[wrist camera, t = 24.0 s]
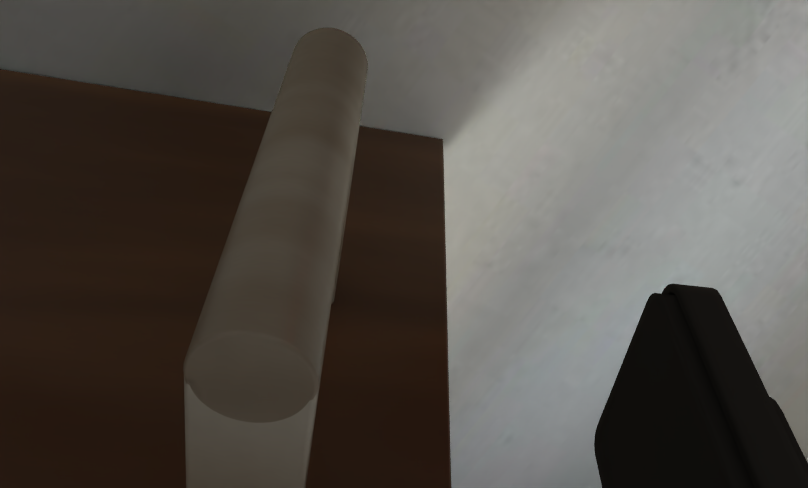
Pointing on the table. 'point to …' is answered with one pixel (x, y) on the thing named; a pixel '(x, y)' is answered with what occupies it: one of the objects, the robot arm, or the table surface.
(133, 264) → the cabinet door
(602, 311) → the table surface
